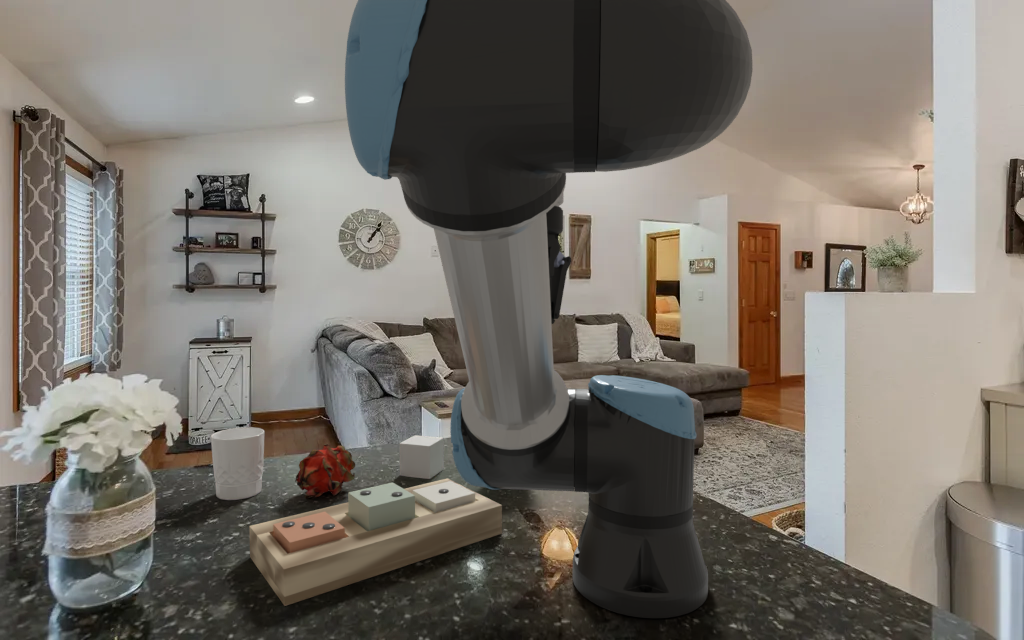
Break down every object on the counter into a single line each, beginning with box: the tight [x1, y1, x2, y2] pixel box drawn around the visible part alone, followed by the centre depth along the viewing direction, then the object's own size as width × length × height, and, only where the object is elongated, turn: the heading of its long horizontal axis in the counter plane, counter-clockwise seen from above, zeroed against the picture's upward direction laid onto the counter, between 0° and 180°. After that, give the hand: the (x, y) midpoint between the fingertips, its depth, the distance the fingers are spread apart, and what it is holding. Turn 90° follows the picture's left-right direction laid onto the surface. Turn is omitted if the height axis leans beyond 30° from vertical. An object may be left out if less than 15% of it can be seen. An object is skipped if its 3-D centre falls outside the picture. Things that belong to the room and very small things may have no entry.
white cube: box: [398, 434, 445, 480], centre depth 104 cm, size 6×6×6 cm
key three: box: [273, 512, 345, 554], centre depth 69 cm, size 6×6×4 cm
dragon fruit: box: [294, 443, 356, 499], centre depth 93 cm, size 8×8×12 cm
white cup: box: [210, 426, 265, 501], centre depth 93 cm, size 8×8×10 cm
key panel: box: [249, 477, 503, 607], centre depth 75 cm, size 14×29×4 cm, turn 128°
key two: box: [347, 482, 415, 531], centre depth 75 cm, size 6×6×4 cm
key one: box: [413, 480, 475, 512], centre depth 81 cm, size 6×6×4 cm
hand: (536, 368), depth 84 cm, fingers closed
